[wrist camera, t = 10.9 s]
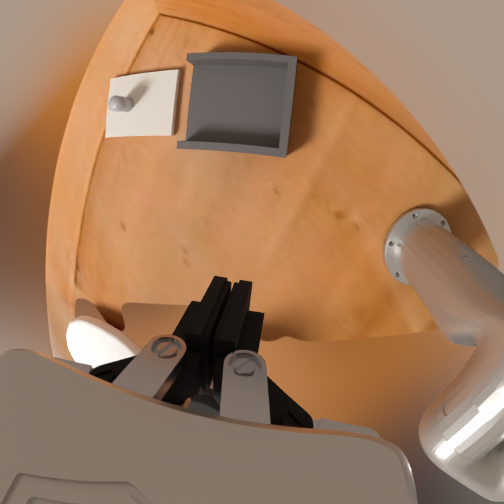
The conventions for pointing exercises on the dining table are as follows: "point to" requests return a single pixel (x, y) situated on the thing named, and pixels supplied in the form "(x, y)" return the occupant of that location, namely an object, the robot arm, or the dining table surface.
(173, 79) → the cover plate
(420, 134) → the dining table surface
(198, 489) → the robot arm
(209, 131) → the dark box
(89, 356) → the white round disc
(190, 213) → the dining table surface
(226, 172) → the dining table surface
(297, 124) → the dining table surface
